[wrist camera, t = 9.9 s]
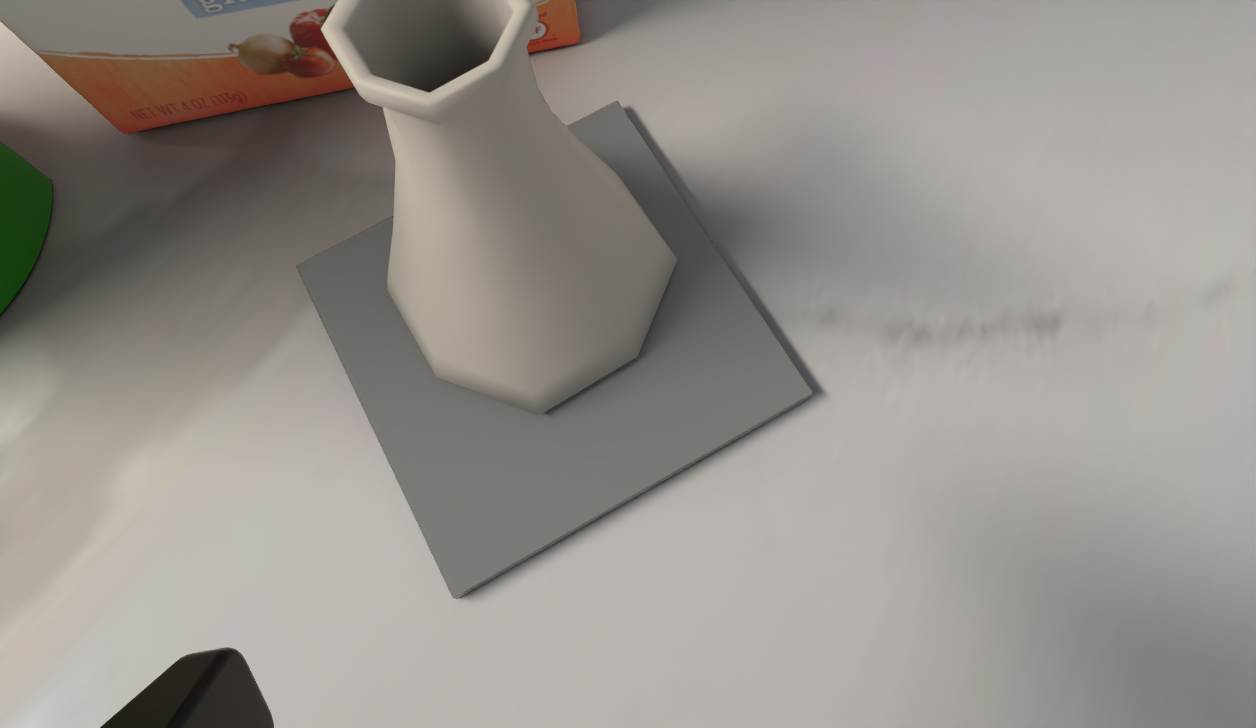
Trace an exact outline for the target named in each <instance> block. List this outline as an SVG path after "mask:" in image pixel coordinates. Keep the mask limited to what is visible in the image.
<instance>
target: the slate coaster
mask: <svg viewBox="0 0 1256 728" xmlns="http://www.w3.org/2000/svg"><path fill="white" fill-rule="evenodd" d="M567 128H568V129H569V130H570V131H571V132H572V133H573V134H574V135H575V136H576V137H577V138H578V139H579V140H580V141H581V142H582V143H583V144H584V145H585V146H586V147H587V148H589V149H590V150H591V151H592V152H593V153H594V154H595V155H596V156H598V157H599V158H600V159H601V160H602V161H603V162H604V163H605V164H607V165H608V166H609V167H610V168H611V169H612V170H613V171H614V172H615V173H616V174H617V175H618V176H619V177H620V178H621V180H622V181H623V183H624V184H625V185H626V187H627V188H628V190H629V191H630V192H631V194H632V195H633V197H634V198H635V200H636V201H637V202H638V204H639V205H640V207H641V208H642V209H643V211H644V212H645V214H646V215H647V217H648V218H649V219H650V221H651V222H652V224H653V225H654V226H655V228H656V229H657V231H658V232H659V234H660V235H661V236H662V238H663V239H664V241H665V242H666V243H667V245H668V246H669V248H670V249H671V251H672V252H673V253H674V255H675V256H676V258H677V259H678V260H677V262H676V264H675V267H674V269H673V272H672V274H671V277H670V279H669V281H668V284H667V286H666V289H665V291H664V293H663V296H662V298H661V301H660V303H659V306H658V308H657V310H656V313H655V315H654V318H653V320H652V323H651V325H650V327H649V330H648V332H647V335H646V337H645V340H644V342H643V344H642V347H641V349H640V352H639V354H638V356H637V357H636V358H634V359H633V360H631V361H629V362H628V363H626V364H624V365H623V366H621V367H619V368H618V369H616V370H614V371H613V372H611V373H609V374H608V375H606V376H604V377H603V378H601V379H599V380H598V381H596V382H594V383H593V384H591V385H589V386H588V387H586V388H584V389H583V390H581V391H579V392H578V393H576V394H574V395H573V396H571V397H569V398H568V399H566V400H564V401H563V402H561V403H559V404H558V405H556V406H554V407H553V408H551V409H549V410H548V411H546V412H544V413H543V414H541V415H536V414H533V413H531V412H528V411H525V410H523V409H520V408H518V407H515V406H512V405H510V404H507V403H504V402H502V401H499V400H496V399H494V398H491V397H488V396H486V395H483V394H480V393H478V392H475V391H472V390H470V389H467V388H464V387H462V386H459V385H456V384H454V383H451V382H448V381H446V380H443V379H441V378H438V377H436V375H435V374H434V372H433V370H432V368H431V367H430V365H429V363H428V361H427V360H426V358H425V356H424V354H423V352H422V351H421V349H420V347H419V345H418V344H417V342H416V340H415V338H414V337H413V335H412V333H411V331H410V329H409V328H408V326H407V324H406V322H405V321H404V319H403V317H402V315H401V314H400V312H399V310H398V308H397V306H396V305H395V303H394V301H393V299H392V298H391V296H390V294H389V292H388V291H387V277H388V266H389V258H390V249H391V241H392V233H393V218H394V216H392V217H390V218H388V219H386V220H384V221H382V222H380V223H378V224H376V225H374V226H372V227H370V228H368V229H366V230H364V231H363V232H361V233H359V234H357V235H355V236H353V237H351V238H349V239H347V240H345V241H343V242H341V243H339V244H337V245H335V246H333V247H331V248H330V249H328V250H326V251H324V252H322V253H320V254H318V255H316V256H314V257H312V258H310V259H308V260H306V261H304V262H302V263H300V264H298V265H297V266H296V267H297V270H298V272H299V274H300V276H301V278H302V280H303V282H304V284H305V286H306V289H307V291H308V293H309V295H310V297H311V299H312V301H313V303H314V305H315V308H316V310H317V312H318V314H319V316H320V318H321V320H322V322H323V324H324V327H325V329H326V331H327V333H328V335H329V337H330V339H331V341H332V343H333V346H334V348H335V350H336V352H337V354H338V356H339V358H340V360H341V362H342V365H343V367H344V369H345V371H346V373H347V375H348V377H349V379H350V381H351V384H352V386H353V388H354V390H355V392H356V394H357V396H358V398H359V400H360V403H361V405H362V407H363V409H364V411H365V413H366V415H367V417H368V419H369V422H370V424H371V426H372V428H373V430H374V432H375V434H376V436H377V438H378V441H379V443H380V445H381V447H382V449H383V451H384V453H385V455H386V457H387V460H388V462H389V464H390V466H391V468H392V470H393V472H394V474H395V476H396V479H397V481H398V483H399V485H400V487H401V489H402V491H403V493H404V495H405V498H406V500H407V502H408V504H409V506H410V508H411V510H412V512H413V515H414V517H415V519H416V521H417V523H418V525H419V527H420V529H421V531H422V534H423V536H424V538H425V540H426V542H427V544H428V546H429V548H430V550H431V553H432V555H433V557H434V559H435V561H436V563H437V565H438V567H439V569H440V572H441V574H442V576H443V578H444V580H445V582H446V584H447V586H448V588H449V591H450V593H451V595H452V597H453V598H455V599H458V598H460V597H462V596H463V595H465V594H467V593H469V592H470V591H472V590H474V589H476V588H477V587H479V586H481V585H483V584H484V583H486V582H488V581H490V580H491V579H493V578H495V577H497V576H498V575H500V574H502V573H504V572H505V571H507V570H509V569H511V568H512V567H514V566H516V565H518V564H519V563H521V562H523V561H525V560H526V559H528V558H530V557H532V556H533V555H535V554H537V553H539V552H540V551H542V550H544V549H546V548H547V547H549V546H551V545H553V544H554V543H556V542H558V541H560V540H561V539H563V538H565V537H567V536H568V535H570V534H572V533H574V532H575V531H577V530H579V529H581V528H582V527H584V526H586V525H588V524H589V523H591V522H593V521H595V520H596V519H598V518H600V517H602V516H603V515H605V514H607V513H609V512H610V511H612V510H614V509H616V508H617V507H619V506H621V505H623V504H624V503H626V502H628V501H630V500H631V499H633V498H635V497H637V496H638V495H640V494H642V493H644V492H645V491H647V490H649V489H651V488H652V487H654V486H656V485H658V484H659V483H661V482H663V481H665V480H666V479H668V478H670V477H672V476H673V475H675V474H677V473H679V472H680V471H682V470H684V469H686V468H687V467H689V466H691V465H693V464H694V463H696V462H698V461H700V460H701V459H703V458H705V457H707V456H708V455H710V454H712V453H714V452H715V451H717V450H719V449H721V448H722V447H724V446H726V445H728V444H729V443H731V442H733V441H735V440H736V439H738V438H740V437H742V436H743V435H745V434H747V433H749V432H750V431H752V430H754V429H756V428H757V427H759V426H761V425H763V424H764V423H766V422H768V421H770V420H771V419H773V418H775V417H777V416H778V415H780V414H782V413H784V412H785V411H787V410H789V409H791V408H792V407H794V406H796V405H798V404H799V403H801V402H803V401H805V400H806V399H808V398H810V397H811V395H812V391H811V390H810V388H809V387H808V385H807V384H806V382H805V381H804V379H803V378H802V376H801V375H800V373H799V372H798V370H797V369H796V367H795V366H794V364H793V363H792V361H791V360H790V358H789V357H788V355H787V354H786V352H785V351H784V349H783V348H782V346H781V345H780V343H779V342H778V340H777V339H776V337H775V336H774V334H773V333H772V331H771V330H770V328H769V327H768V325H767V324H766V322H765V321H764V319H763V318H762V316H761V315H760V313H759V312H758V310H757V309H756V307H755V306H754V304H753V303H752V301H751V300H750V298H749V297H748V295H747V294H746V292H745V291H744V289H743V288H742V286H741V285H740V283H739V282H738V280H737V279H736V277H735V276H734V274H733V273H732V271H731V270H730V268H729V267H728V265H727V264H726V262H725V261H724V259H723V258H722V256H721V255H720V253H719V252H718V250H717V249H716V247H715V246H714V244H713V243H712V241H711V240H710V238H709V237H708V235H707V234H706V232H705V231H704V229H703V228H702V226H701V225H700V223H699V222H698V220H697V219H696V217H695V216H694V214H693V213H692V211H691V210H690V208H689V207H688V205H687V204H686V202H685V201H684V199H683V198H682V196H681V195H680V193H679V192H678V190H677V189H676V187H675V186H674V184H673V183H672V181H671V180H670V178H669V177H668V175H667V174H666V172H665V171H664V169H663V168H662V166H661V165H660V163H659V162H658V160H657V159H656V157H655V156H654V154H653V153H652V151H651V150H650V148H649V147H648V146H647V144H646V143H645V141H644V140H643V138H642V137H641V135H640V134H639V132H638V131H637V129H636V128H635V126H634V125H633V123H632V122H631V120H630V119H629V117H628V116H627V114H626V113H625V111H624V110H623V108H622V107H621V105H620V104H619V102H618V101H615V102H613V103H611V104H609V105H607V106H605V107H603V108H602V109H600V110H598V111H596V112H594V113H592V114H590V115H588V116H586V117H584V118H582V119H580V120H578V121H576V122H574V123H572V124H570V125H568V126H567Z"/></svg>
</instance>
